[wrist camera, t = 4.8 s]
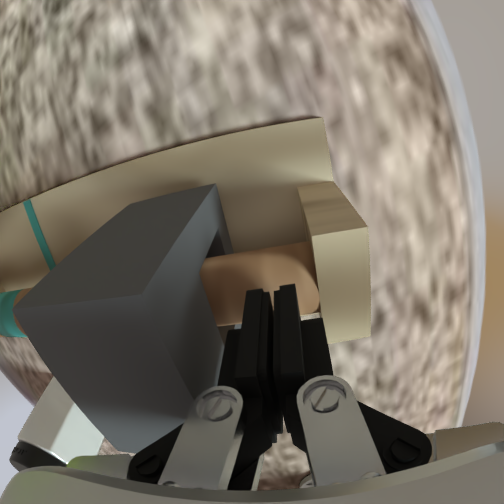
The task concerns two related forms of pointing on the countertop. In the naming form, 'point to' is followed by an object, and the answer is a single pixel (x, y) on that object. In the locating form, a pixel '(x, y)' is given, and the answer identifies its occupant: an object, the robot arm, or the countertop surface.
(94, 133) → the countertop surface
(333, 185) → the pipe rig
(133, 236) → the collar
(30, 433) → the jar
